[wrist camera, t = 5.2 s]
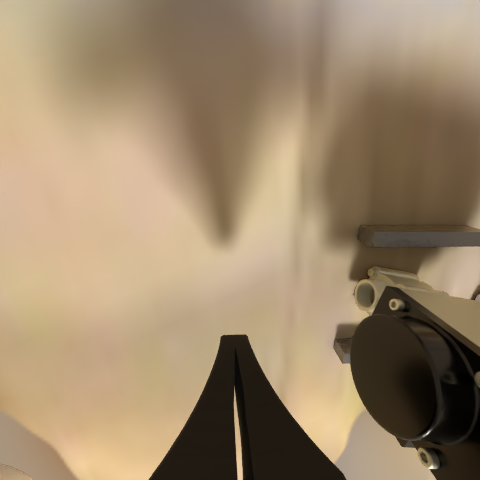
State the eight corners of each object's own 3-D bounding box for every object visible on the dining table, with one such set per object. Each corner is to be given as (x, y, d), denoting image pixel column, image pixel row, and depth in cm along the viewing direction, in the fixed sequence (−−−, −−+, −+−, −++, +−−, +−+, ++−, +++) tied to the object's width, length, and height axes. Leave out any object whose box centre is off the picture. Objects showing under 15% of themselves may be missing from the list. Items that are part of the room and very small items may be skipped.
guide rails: (466, 225, 16) (490, 232, 14) (420, 344, 20) (435, 358, 18) (360, 225, 15) (374, 232, 14) (333, 348, 19) (342, 363, 18)
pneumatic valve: (322, 246, 16) (579, 471, 4) (460, 272, 17) (907, 484, 6) (298, 310, 17) (438, 587, 6) (426, 328, 19) (720, 573, 8)
